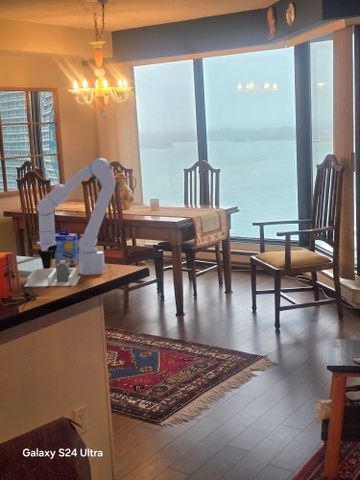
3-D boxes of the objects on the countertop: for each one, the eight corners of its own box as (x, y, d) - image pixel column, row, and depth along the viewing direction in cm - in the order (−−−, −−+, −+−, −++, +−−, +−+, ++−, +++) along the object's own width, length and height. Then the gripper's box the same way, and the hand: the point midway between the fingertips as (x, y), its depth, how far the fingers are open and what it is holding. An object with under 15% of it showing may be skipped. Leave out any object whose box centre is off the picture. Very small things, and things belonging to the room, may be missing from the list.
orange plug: (55, 274, 242) (54, 255, 241) (54, 276, 238) (53, 257, 237) (45, 274, 242) (44, 255, 241) (43, 276, 238) (42, 258, 237)
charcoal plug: (69, 279, 231) (68, 259, 229) (68, 281, 227) (67, 262, 225) (58, 279, 230) (57, 260, 229) (56, 282, 227) (55, 262, 225)
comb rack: (81, 277, 236) (80, 267, 235) (75, 287, 222) (75, 276, 221) (32, 278, 235) (31, 268, 235) (24, 288, 222) (23, 278, 221)
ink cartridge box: (52, 265, 258) (50, 230, 255) (55, 262, 263) (53, 227, 260) (76, 265, 257) (74, 229, 254) (79, 262, 263) (77, 227, 260)
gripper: (40, 227, 244) (42, 262, 247) (32, 234, 230) (34, 270, 232) (58, 227, 244) (60, 261, 247) (51, 233, 230) (53, 270, 233)
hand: (48, 266), depth 240 cm, fingers open, 7 cm apart
